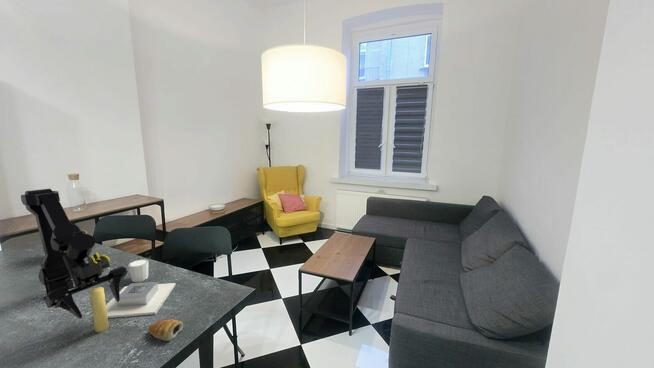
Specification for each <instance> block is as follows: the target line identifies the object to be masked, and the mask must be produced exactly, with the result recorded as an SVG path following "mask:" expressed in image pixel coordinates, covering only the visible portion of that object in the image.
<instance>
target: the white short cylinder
mask: <svg viewBox="0 0 654 368" xmlns="http://www.w3.org/2000/svg"><path fill="white" fill-rule="evenodd" d="M149 263H150V262H149V260H148V259H145V258H143V259H137V260H133V261H131V262H129V263H128V265H127V266H128V270H129V271H128V272H129V275H130V278H131V282H132V283H141V282H144V281H145V279H146V280H147V279H148V278H149Z"/></svg>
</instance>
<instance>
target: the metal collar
mask: <svg viewBox="0 0 654 368" xmlns="http://www.w3.org/2000/svg"><path fill="white" fill-rule="evenodd" d="M158 284H159V282H158V281H151V282H150V281H149V282H147V281H146V282H132V283H130V284H129V285H127V286H128V287H127V288H126V289H125V290H124V291H123V292H122V293H121V294H120V301H119V302H117V304H118V307H125V306H138V305H147V304H148V303H149V301H150V300H151V299H152V298H153V296H154V295H155V294H156V292H157V291H158Z"/></svg>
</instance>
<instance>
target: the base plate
mask: <svg viewBox="0 0 654 368" xmlns="http://www.w3.org/2000/svg"><path fill="white" fill-rule="evenodd" d="M128 286H129V285H127V286H124V287H123V288H122V289H121V290H119V294H121V293H122V292H123V291H124V290H125V289H126V288H127V287H128ZM175 287H176V282H172V283H171V282H170V283H158V291H157V292H156V294H155V295H154V296H153V298H152V299H151V300H150V301H149V303H148V304H147V305H138V306H125V307H118V304H117V301H116V300H115V298H114V297H113V298H112V299H110V301H109V302H107V303H106V310H107V317H108V319H114V318H125V317H134V316H135V317H136V316H149V315H156V314H157V312H158V311H160V308H161V307H162V305H163V304H164V303H165V301H166V299H167V298H168V297H169V295H170V294H171V292H172V291H173V289H174V288H175Z"/></svg>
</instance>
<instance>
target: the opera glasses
mask: <svg viewBox="0 0 654 368" xmlns="http://www.w3.org/2000/svg"><path fill="white" fill-rule="evenodd" d="M89 256H90V258H91V260H92V261H93V262H94V263H95V264H96V263H98V260H100V259H103V258H107V260H108V261H109V264H110V263H111V260H110V257H108V256H107V255H105V254H101V255H99V253H98V252H95V253H94V254H93V255H89Z"/></svg>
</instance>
